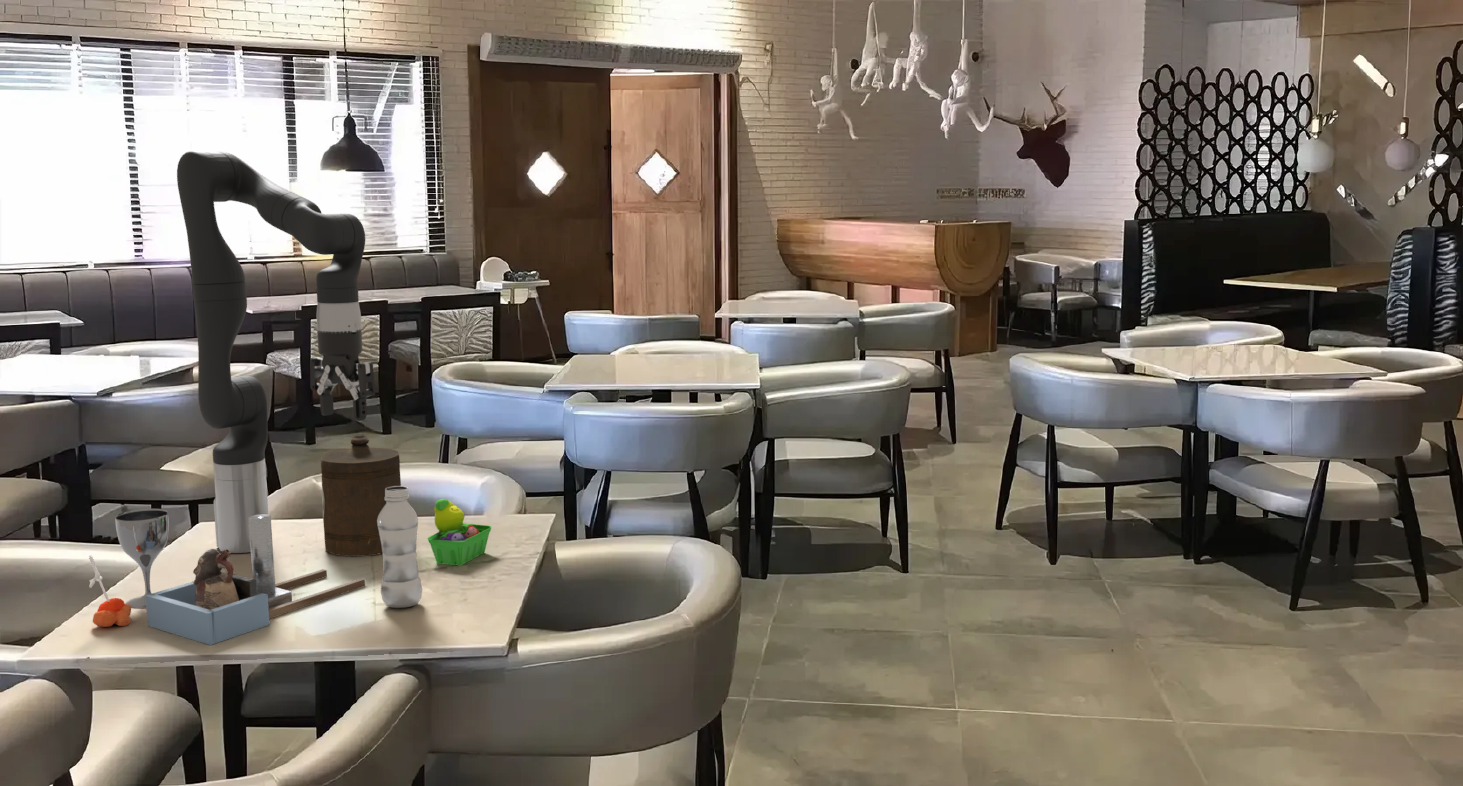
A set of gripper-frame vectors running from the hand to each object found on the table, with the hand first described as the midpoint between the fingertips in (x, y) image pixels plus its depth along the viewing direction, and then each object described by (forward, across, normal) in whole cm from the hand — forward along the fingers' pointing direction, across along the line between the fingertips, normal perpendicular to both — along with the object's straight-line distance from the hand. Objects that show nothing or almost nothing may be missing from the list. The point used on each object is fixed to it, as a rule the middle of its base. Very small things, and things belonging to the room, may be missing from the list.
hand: (343, 417), depth 222 cm
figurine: (+28, +5, -31) cm, 42 cm away
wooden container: (+28, -9, +11) cm, 32 cm away
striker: (+28, +5, -23) cm, 36 cm away
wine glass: (+28, -14, -31) cm, 44 cm away
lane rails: (+28, +5, -17) cm, 33 cm away
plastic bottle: (+28, +24, -10) cm, 38 cm away
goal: (+28, +5, -33) cm, 43 cm away
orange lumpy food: (+28, -8, -41) cm, 51 cm away
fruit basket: (+28, +12, +15) cm, 34 cm away
